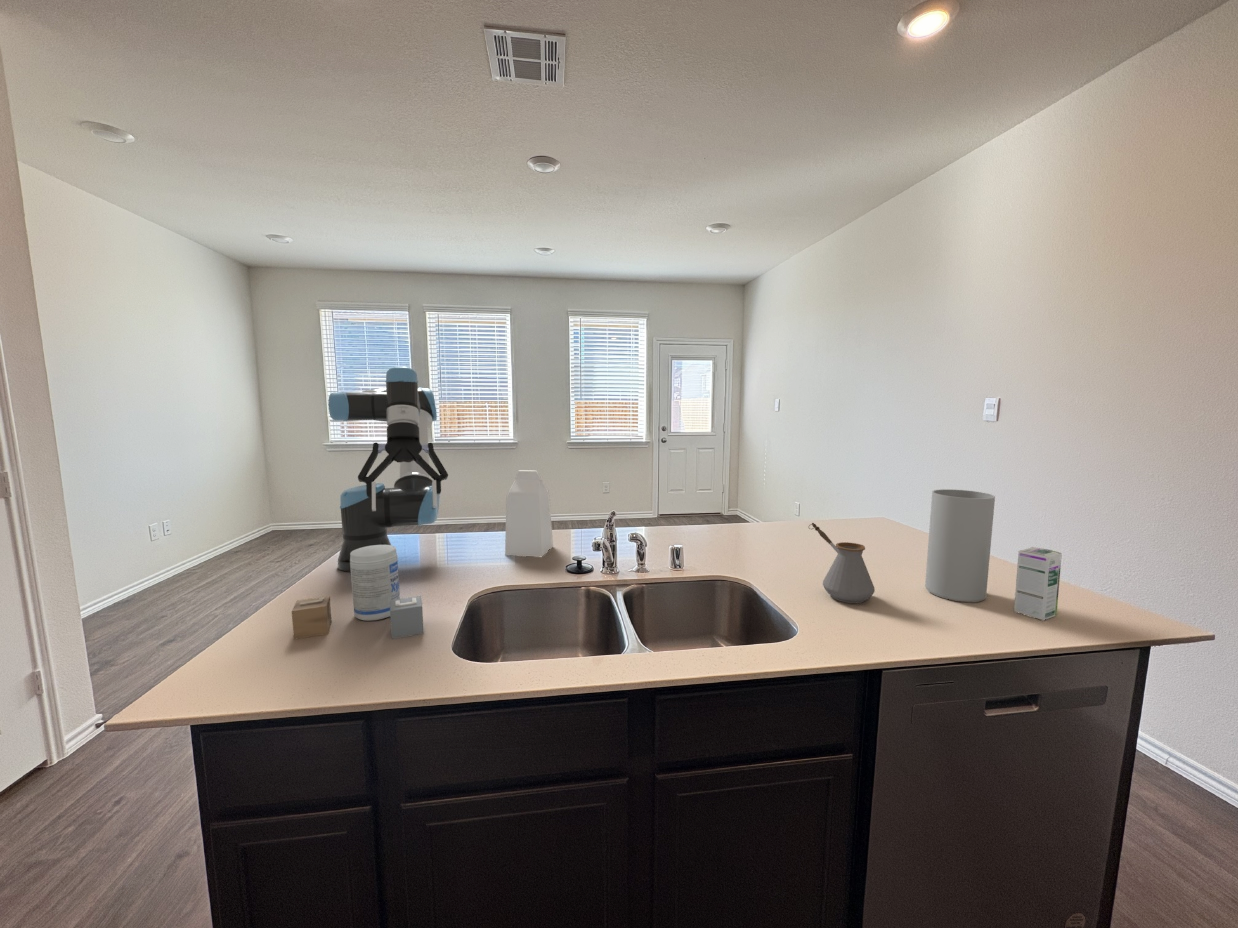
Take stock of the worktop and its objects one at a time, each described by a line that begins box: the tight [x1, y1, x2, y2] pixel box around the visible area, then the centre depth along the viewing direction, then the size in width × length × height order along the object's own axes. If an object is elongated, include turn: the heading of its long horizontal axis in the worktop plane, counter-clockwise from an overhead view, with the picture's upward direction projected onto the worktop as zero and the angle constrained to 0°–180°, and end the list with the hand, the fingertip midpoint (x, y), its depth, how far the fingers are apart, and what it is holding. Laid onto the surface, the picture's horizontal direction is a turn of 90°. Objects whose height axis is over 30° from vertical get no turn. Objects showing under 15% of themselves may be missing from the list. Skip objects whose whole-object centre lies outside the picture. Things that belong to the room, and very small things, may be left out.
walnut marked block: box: [291, 595, 333, 640], centre depth 104 cm, size 6×6×6 cm
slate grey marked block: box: [389, 595, 425, 640], centre depth 104 cm, size 6×6×6 cm
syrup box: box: [1013, 546, 1062, 621], centre depth 110 cm, size 6×6×14 cm
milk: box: [504, 469, 554, 557], centre depth 159 cm, size 12×12×26 cm
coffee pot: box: [808, 522, 876, 604], centre depth 125 cm, size 21×12×15 cm, turn 13°
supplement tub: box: [350, 544, 401, 621], centre depth 112 cm, size 10×10×15 cm
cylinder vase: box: [924, 488, 996, 603], centre depth 122 cm, size 12×12×25 cm
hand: (405, 508), depth 121 cm, fingers open, 13 cm apart
